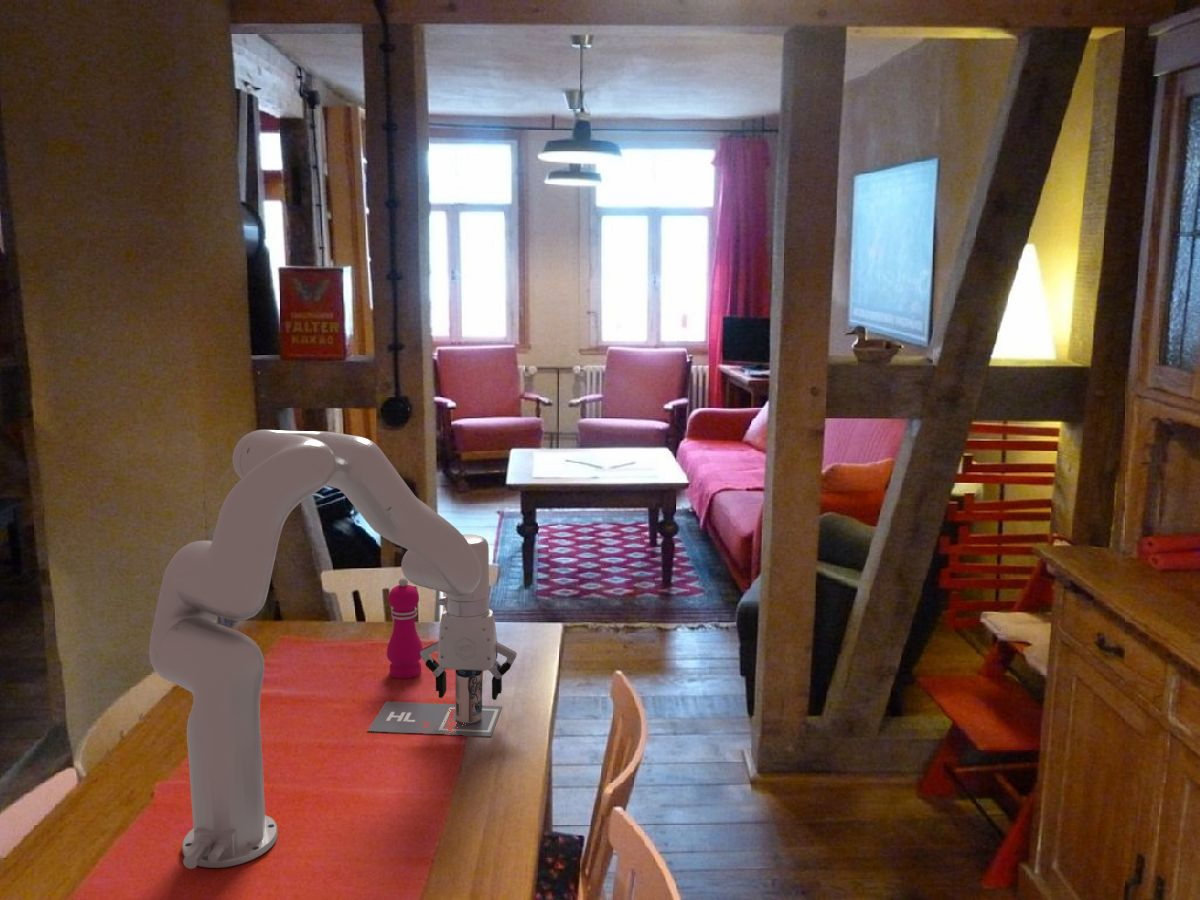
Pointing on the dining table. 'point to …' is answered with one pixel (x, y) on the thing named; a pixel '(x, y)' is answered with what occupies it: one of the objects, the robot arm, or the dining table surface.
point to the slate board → (431, 719)
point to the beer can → (468, 696)
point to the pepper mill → (404, 632)
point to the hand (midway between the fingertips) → (469, 695)
